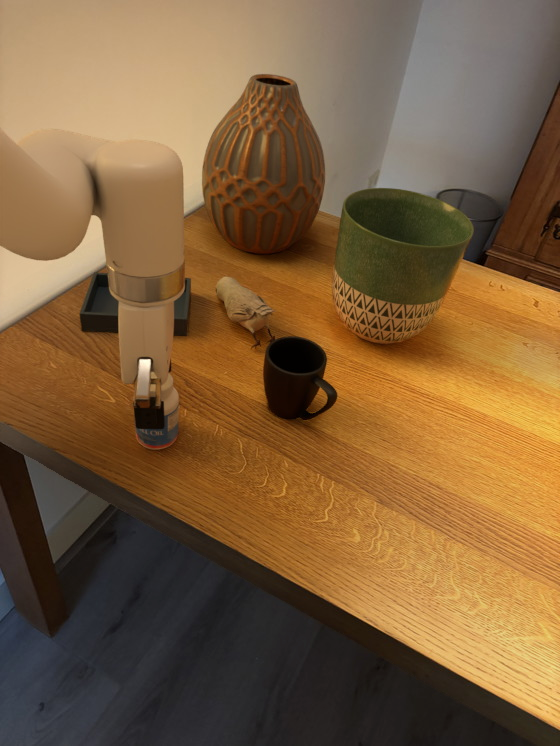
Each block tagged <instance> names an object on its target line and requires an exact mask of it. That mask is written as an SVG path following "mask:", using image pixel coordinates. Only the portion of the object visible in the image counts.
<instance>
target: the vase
mask: <svg viewBox="0 0 560 746" xmlns="http://www.w3.org/2000/svg"><path fill="white" fill-rule="evenodd" d="M300 95H301V94H300V90H299V87H298V83H297V82H296V80H294V79H292V78H290V77H286V76H284V75H278V74H272V73H271V74H270V73H258V74H254V75H252V76H250V78H249V79H248V81H247V84H246V85H245V88H244V90H243V92H242V93H241V95H240V97H239V98H237V101H236V102H235V103H234V104H233V105H232V106H231V107H230V108H229V110H228V111H227V112H226V113H225V114H224V116H223V117H222V118H221V120H220V121H219V122H218V123H217V125H216V126H215V128H214V129H213V132H212V133H211V136H210V137H209V141H208V142H207V146H206V149H205V153H204V157H203V162H202V171H201V189H202V197H203V203H204V206H205V210H206V213H207V216H208V218H209V221H210V224H212V225H213V227H214V229H215V230H216V232H217V233H218V234H219V235H220V236H221V237H222V238H223V239H224V240H225V241H226V242H227V243H228V244H229V245H231V246H232V247H234V248H236V249H238V250H240V251H243V252H247V253H251V254H257V255H271V254H276V253H277V254H278V253H280V252H283V251H285V250H287V249H289V248H290V247H292V246H293V245H295V244H297V242H299V241H300V240H301V239H302V238H303V237H304V236H305V235H307V233H308V232H309V230H310V228H311V227H312V225H313V224H314V221H315V220H316V218H317V216H318V213H319V210H320V208H321V205H322V200H323V197H324V193H325V186H326V162H325V154H324V150H323V145H322V142H321V140H320V137H319V135H318V133H317V130H316V129H315V127H314V125H313V122H312V120H311V118H310V117H309V115H308V113H307V111H306V109H305V107H304V104H303V101H302V98H301V96H300Z"/></svg>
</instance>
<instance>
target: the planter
mask: <svg viewBox="0 0 560 746" xmlns="http://www.w3.org/2000/svg"><path fill="white" fill-rule="evenodd" d="M474 229H475V228H474V225H473V223H472V221H471V220H470V219H469V217H468V216H467V215H466V214H465V213H464V212H462V211H461V210H459V209H458V208H457V207H455V206H453V205H451V204H450V203H447V202H446V201H443V200H441V199H439V198H436V197H434V196H431V195H427V194H424V193H421V192H416V191H412V190H407V189H401V188H394V187H372V188H364V189H360V190H357V191H354V192H352V193H350V194H349V195H347V196H346V198H345V199H344V200H343V202H342V208H341V213H340V220H339V227H338V234H337V241H336V249H335V255H334V263H333V270H332V277H331V293H332V294H331V295H332V302H333V306H334V310H335V312H336V314H337V316H338V317H339V319H340V321H341V322H342V324H343V325H344V326H345V327H346V328H347V329H348V330H349V331H350V332H351V333H353V334H354V335H356V336H357V337H358V338H361V339H362V340H364V341H368V342H370V343H374V344H380V345H381V344H382V345H389V344H396V343H401V342H405V341H406V340H409V339H412V338H414V337H416V336H418V335H419V334H420V333H421V332H423V331H424V330H425V329H426V328H427V327H428V326H429V325H430V324H431V322H432V321H433V320H434V319H435V317H436V315H437V314H438V312H439V311H440V309H441V307H442V305H443V303H444V301H445V299H446V296H447V294H448V292H449V290H450V288H451V285H452V284H453V282H454V279H455V276H456V274H457V272H458V270H459V268H460V265H461V264H462V261H463V259H464V257H465V255H466V252H467V250H468V249H469V245H470V243H471V241H472V239H473V235H474V232H475V230H474Z"/></svg>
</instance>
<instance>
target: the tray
mask: <svg viewBox="0 0 560 746" xmlns="http://www.w3.org/2000/svg"><path fill="white" fill-rule="evenodd" d="M191 294H192V278H191V277H185V290H184V292H183V294H182V295H181V296H180V297H179V298H178V299H176V300H175V301H174V333H173V336H178V337H179V336H181V337H187V336H188V330H189V318H190V308H191V307H190V306H191V298H192V297H191ZM118 307H119V301H118V300H117V299H115V298H114V297H113V296H112V295H111V293H110V290H109V282H108V274H107V272H97V271H96V272H95V271H94V272H93V274H92V277H91V280H90V281H89V285H88V289H87V290H86V294H85V296H84V299H83V302H82V305H81V308H80V311H79V322H80V326H81V331H82V332H99V333H118V334H119V330H118Z"/></svg>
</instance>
